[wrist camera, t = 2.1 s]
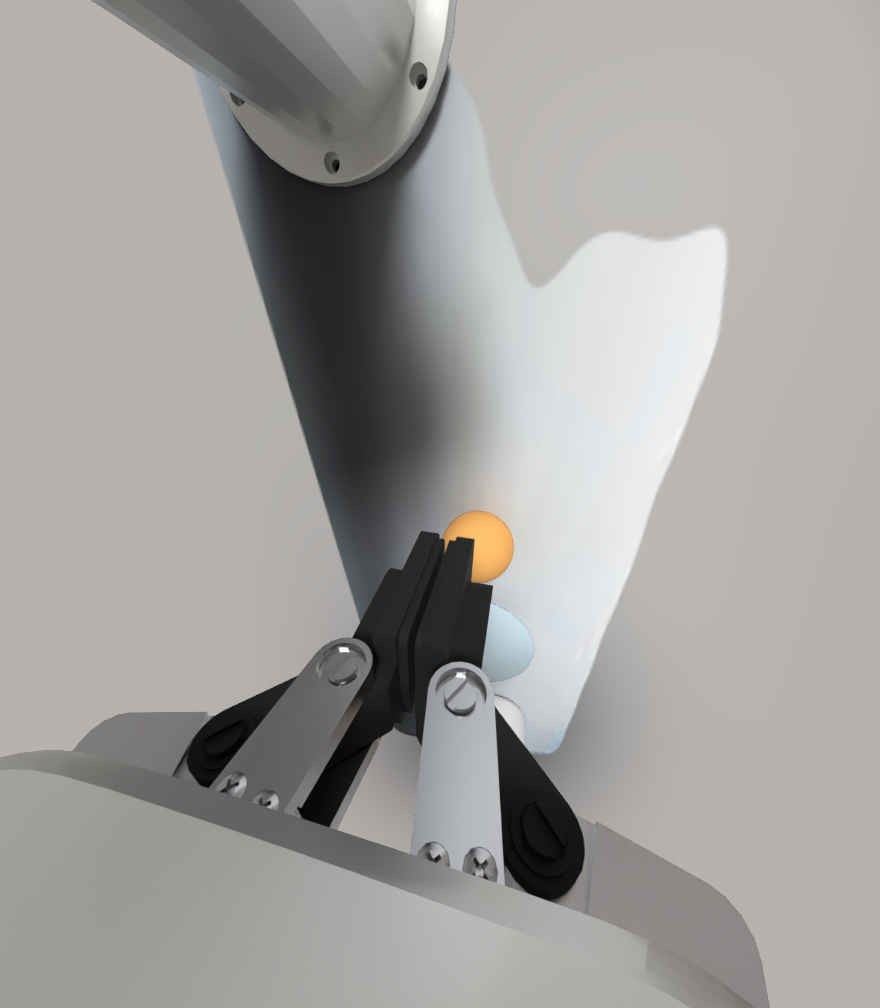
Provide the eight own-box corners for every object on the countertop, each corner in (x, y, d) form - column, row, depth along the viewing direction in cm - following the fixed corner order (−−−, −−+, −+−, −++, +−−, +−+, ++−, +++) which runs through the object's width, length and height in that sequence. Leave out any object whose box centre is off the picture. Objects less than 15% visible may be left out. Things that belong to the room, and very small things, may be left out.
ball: (450, 494, 28) (435, 533, 24) (519, 502, 27) (516, 544, 23) (448, 547, 31) (434, 591, 27) (510, 556, 30) (507, 604, 26)
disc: (410, 587, 35) (409, 588, 35) (544, 610, 33) (544, 612, 32) (413, 666, 42) (413, 667, 42) (524, 690, 39) (524, 692, 39)
